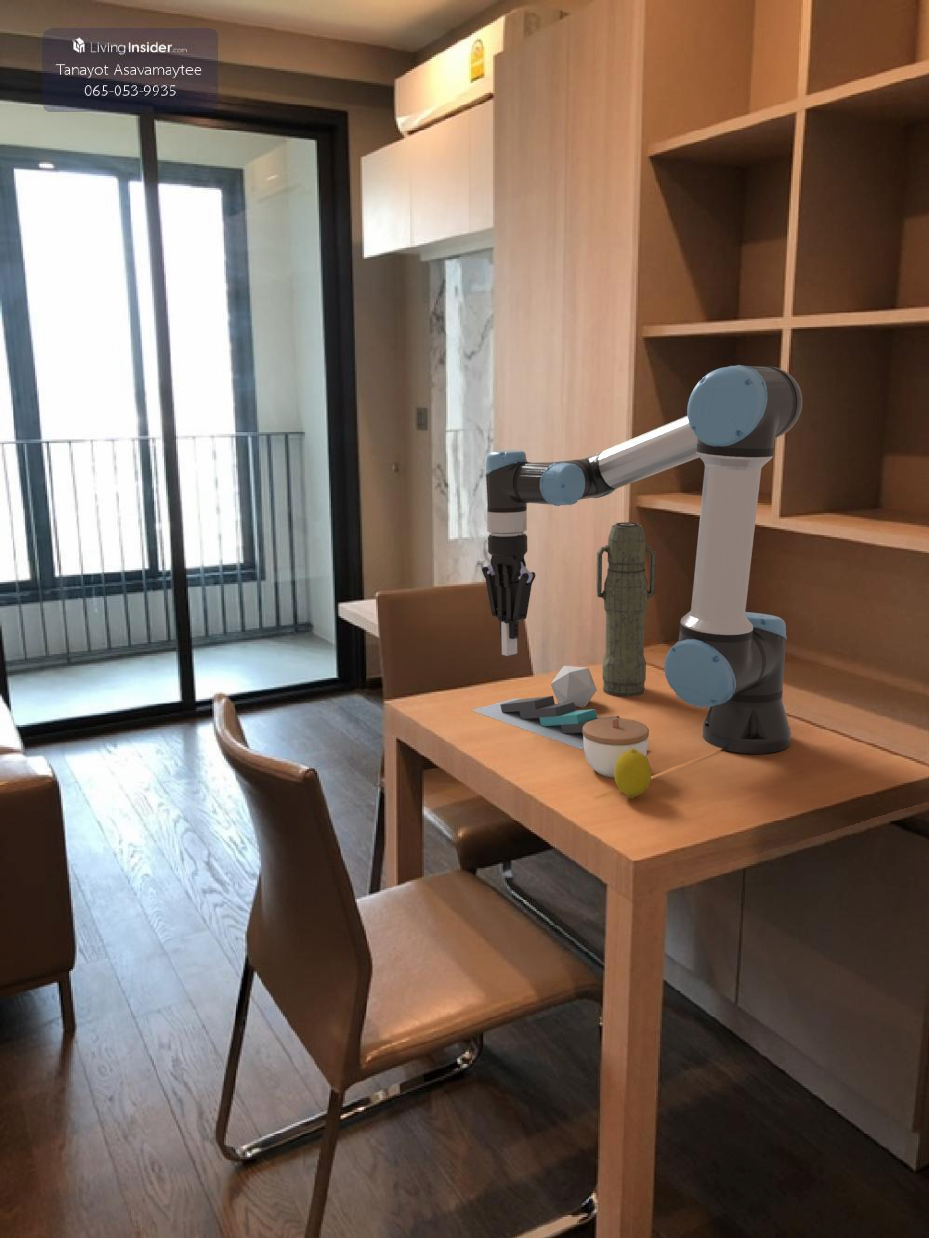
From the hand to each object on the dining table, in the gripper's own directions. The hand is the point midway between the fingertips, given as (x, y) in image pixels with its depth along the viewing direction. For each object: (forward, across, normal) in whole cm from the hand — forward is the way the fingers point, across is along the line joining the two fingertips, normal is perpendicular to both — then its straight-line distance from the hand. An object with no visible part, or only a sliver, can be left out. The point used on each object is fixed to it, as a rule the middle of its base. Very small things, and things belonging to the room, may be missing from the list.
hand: (509, 653), depth 196 cm
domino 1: (+11, 0, 0) cm, 11 cm away
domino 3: (+11, -17, 0) cm, 20 cm away
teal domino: (+11, -11, 0) cm, 15 cm away
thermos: (+12, -6, -27) cm, 30 cm away
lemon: (+13, -44, +15) cm, 49 cm away
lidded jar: (+12, -36, +9) cm, 39 cm away
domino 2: (+11, -6, 0) cm, 12 cm away
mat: (+12, -10, 0) cm, 16 cm away
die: (+12, -6, -12) cm, 18 cm away
